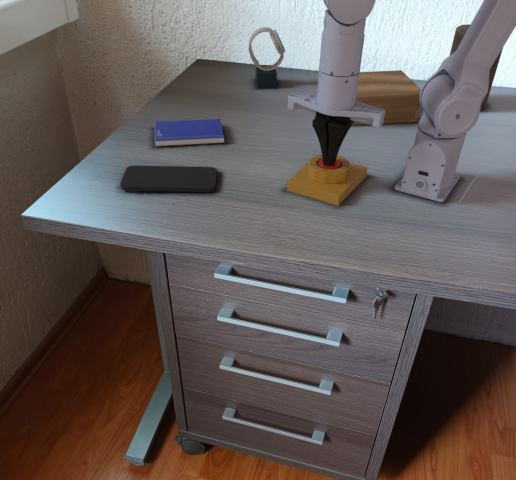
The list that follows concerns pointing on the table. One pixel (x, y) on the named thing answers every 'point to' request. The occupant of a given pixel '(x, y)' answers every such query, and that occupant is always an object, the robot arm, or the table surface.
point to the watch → (267, 73)
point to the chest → (396, 110)
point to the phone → (169, 178)
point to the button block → (327, 180)
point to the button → (334, 166)
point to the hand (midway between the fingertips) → (329, 163)
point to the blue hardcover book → (188, 132)
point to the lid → (386, 86)
